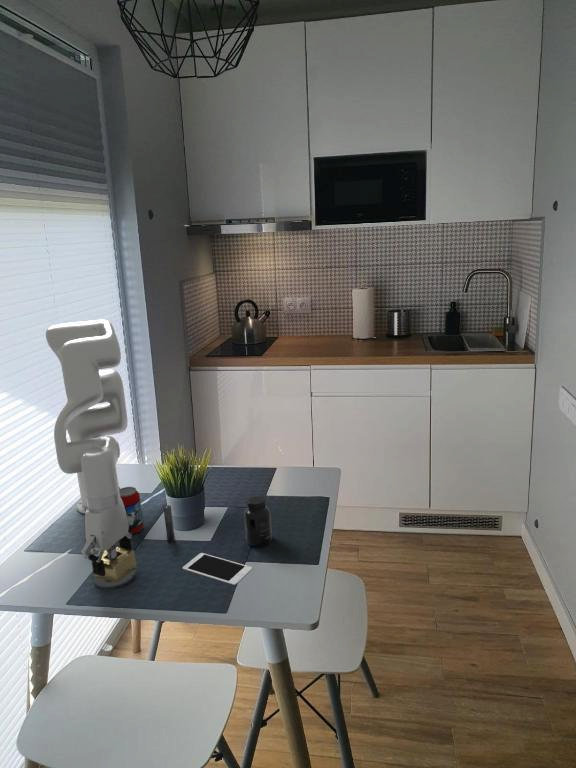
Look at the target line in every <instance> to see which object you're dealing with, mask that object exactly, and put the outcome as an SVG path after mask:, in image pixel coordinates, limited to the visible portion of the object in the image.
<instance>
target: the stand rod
mask: <svg viewBox="0 0 576 768" xmlns="http://www.w3.org/2000/svg"><path fill="white" fill-rule="evenodd" d="M162 508H163V517H164V525H165V533H166V540H167V541H166V542H167V543H174V542H175V540H176V537H175V530H174V529H175V527H174V520H173V514H172V506H171V505H169V504H167V505H163V507H162Z"/></svg>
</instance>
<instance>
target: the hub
mask: <svg viewBox="0 0 576 768" xmlns="http://www.w3.org/2000/svg"><path fill="white" fill-rule="evenodd" d="M116 547H117V546H115V545H112V546H111V547H109V548H108V549H107V556H108V559H110V560H115V559H116V558H117V551H116ZM137 572H138V571H137V567H136V568H134V569H133V570H132V571H131V572H130V573H128V574H127V575H126V576H125V577H124V578H122V579H121V580H120V581H119V582H118V583H117V582H113V581H109V580H105V579H101V578H97V577H94V575H93V583H95V584H94V586H95V585H96V586H97V587H96V586H95V587H96V588H98V587H99V588H98V589H100V588H102V589H101V590H104V589H113V590H116V589H115V588H118V589H120V588H121V589H122V588H124V587H126V586H128V585H129V584H131V583H132V582H133V581H134V580H135V579H136V578H137ZM123 586H124V587H123Z"/></svg>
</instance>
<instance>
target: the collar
mask: <svg viewBox="0 0 576 768" xmlns="http://www.w3.org/2000/svg"><path fill="white" fill-rule="evenodd" d="M115 547H116V551H117V558H116V559H115V560H110V559H108V556H107V550H105V551H104V553H103V556H102V559H101V560H103V561H104V566H105V572H106V574H105V576H99V575H95V574H94V573H93V576H94V577H97V578H101V579H105V580H109V581H113V582H117V583H118V582H119V581H120V580H121V579H122V578H124V577H125V576H126V575H127V574H128V573H130V572H131V571H132V570H133V569H134V568H136V569H137V563H136V562H137V561H136V556H135V554H136V553H135V550H133V549H132V550H129V549H124V548H120V546H115Z"/></svg>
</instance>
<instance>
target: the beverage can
mask: <svg viewBox="0 0 576 768" xmlns="http://www.w3.org/2000/svg"><path fill="white" fill-rule="evenodd" d="M119 492H120V498H121V499H122V502H123V504H124V507H125V511H126V515H127V516H133V517H134V522H133V530H132V532H131V534H132V535H133V534H136V533H139V532H140V531H142V529H143V528H144V519H143V518H144V517H143V511H142V510H143V509H142V504H141V496H140V493H139V491H138V490H137V488H136V487H134V486H125V487H122V488H121V487H120V490H119Z"/></svg>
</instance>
